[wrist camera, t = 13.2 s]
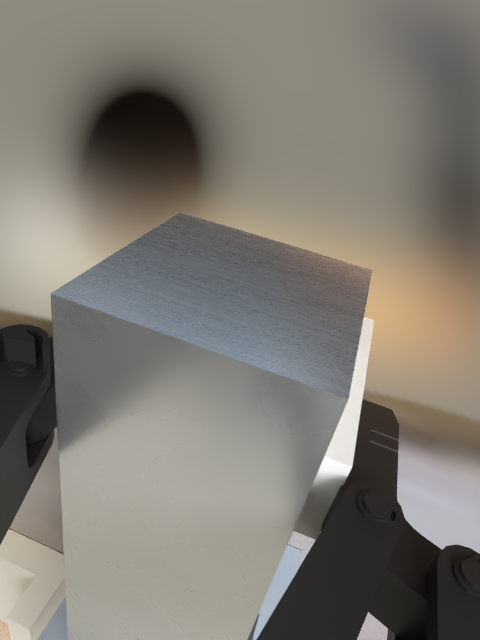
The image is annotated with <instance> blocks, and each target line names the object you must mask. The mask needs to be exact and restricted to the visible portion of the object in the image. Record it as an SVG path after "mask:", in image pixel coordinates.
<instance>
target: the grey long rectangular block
mask: <svg viewBox="0 0 480 640" xmlns="http://www.w3.org/2000/svg"><path fill="white" fill-rule="evenodd" d="M372 271H373V270H371V269H368V268H364V267H361V266H357V265H354V264H351V263H347V262H344V261H341V260H338V259H334V258H331V257H327V256H324V255H321V254H318V253H314V252H311V251H308V250H305V249H301V248H298V247H295V246H291V245H288V244H285V243H281V242H278V241H275V240H271V239H268V238H265V237H261V236H258V235H255V234H251V233H248V232H245V231H242V230H238V229H234V228H232V227H228V226H225V225H222V224H218V223H215V222H212V221H208V220H205V219H202V218H198V217H195V216H192V215H188V214H185V213H182V212H179V213H177V214H176V215H175V216H173V217H171V218H170V219H168V220H166V221H165V222H163V223H162V224H160V225H158V226H157V227H155V228H154V229H152V230H151V231H149V232H147V233H146V234H144V235H143V236H141V237H139V238H138V239H137V240H135V241H133V242H132V243H130V244H128V245H127V246H125V247H124V248H122V249H121V250H119V251H117V252H116V253H114V254H113V255H111V256H109V257H108V258H106V259H105V260H103V261H102V262H100V263H98V264H97V265H95V266H94V267H92V268H90V269H89V270H87V271H86V272H84V273H82V274H81V275H79V276H78V277H76V278H75V279H73V280H71V281H70V282H68V283H67V284H65V285H63V286H62V287H60V288H59V289H57V290H56V291H54V292H52V293H51V307H52V327H53V348H54V368H55V388H56V408H57V428H58V449H59V469H60V489H61V509H62V529H63V550H64V570H65V590H66V610H67V630H68V640H247V639H248V637H249V635H250V632H251V630H252V628H253V625H254V623H255V620H256V618H257V616H258V613H259V611H260V609H261V606H262V604H263V601H264V599H265V597H266V594H267V592H268V590H269V587H270V585H271V582H272V580H273V578H274V575H275V573H276V571H277V568H278V566H279V563H280V561H281V559H282V556H283V554H284V551H285V549H286V547H287V544H288V542H289V540H290V537H291V535H292V532H293V530H294V528H295V525H296V523H297V521H298V518H299V516H300V513H301V511H302V509H303V506H304V504H305V502H306V499H307V497H308V494H309V492H310V490H311V487H312V485H313V483H314V480H315V478H316V475H317V473H318V471H319V468H320V466H321V464H322V461H323V459H324V456H325V454H326V452H327V449H328V447H329V445H330V442H331V440H332V437H333V435H334V433H335V430H336V428H337V426H338V423H339V421H340V418H341V416H342V414H343V411H344V409H345V407H346V404H347V402H348V399H349V394H350V389H351V383H352V378H353V373H354V367H355V362H356V356H357V351H358V346H359V340H360V335H361V330H362V324H363V319H364V313H365V308H366V303H367V297H368V292H369V287H370V281H371V276H372Z"/></svg>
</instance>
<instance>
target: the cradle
mask: <svg viewBox="0 0 480 640" xmlns="http://www.w3.org/2000/svg"><path fill="white" fill-rule="evenodd" d="M65 596H66V590H65V570H64V555H63V554H61V553H59V552H57V551H55V550H53V549H51V548H49V547H46V546H44V545H42V544H40V543H38V542H36V541H34V540H32V539H29V538H27V537H25V536H23V535H21V534H19V533H17V532H15V531H13V530H10V529H8V531H7V533H6V535H5V537H4V539H3V541H2V543H1V545H0V620H1V621H3V622H5V623H7V625H8V630H9V635H10V640H37V639H38V638H39V636H40V634H41V633H42V631H43V630H44V628H45V627H46V625H47V624H48V622H49V621H50V619H51V618H52V616H53V614H54V613H55V611H56V610H57V608H58V607H59V605H60V604H61V602H62V601H63V599H64V598H65Z"/></svg>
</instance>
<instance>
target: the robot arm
mask: <svg viewBox="0 0 480 640" xmlns="http://www.w3.org/2000/svg"><path fill="white" fill-rule="evenodd" d="M373 323H374V320H371V319H369V318H365V317H364V319H363V324H362V330H361V335H360V340H359V346H358V351H357V356H356V362H355V367H354V373H353V378H352V383H351V389H350V394H349V399H348V402H347V404H346V407H345V409H344V411H343V414H342V416H341V418H340V421H339V423H338V426H337V428H336V430H335V433H334V435H333V437H332V440H331V442H330V445H329V447H328V449H327V452H326V454H325V456H324V459H323V461H322V464H321V466H320V468H319V471H318V473H317V475H316V478H315V480H314V483H313V485H312V487H311V490H310V492H309V494H308V497H307V499H306V502H305V504H304V506H303V509H302V511H301V513H300V516H299V518H298V521H297V523H296V525H295V528H294V531H296V532H299V533H301V534H303V535H306V536H308V537H311V538H313V539H315V540H316V541H315V543H314V544H313V546H312V548H311V549H310V551H309V553H308V554H307V556H306V558H305V559H304V561H303V563H302V564H301V566H300V568H299V569H298V571H297V573H296V574H295V576H294V578H293V579H292V581H291V583H290V584H289V586H288V588H287V589H286V591H285V593H284V594H283V596H282V598H281V599H280V601H279V603H278V604H277V606H276V608H275V609H274V611H273V613H272V614H271V616H270V618H269V619H268V621H267V623H266V624H265V626H264V628H263V629H262V631H261V633H260V634H259V636H258V638H257V639H256V640H357V637H358V635H359V633H360V630H361V628H362V625H363V623H364V620H365V618H366V616H367V613H368V612H369V613H370V614H372V615H373V616H374V617H375V618H376V619H378V620H379V621H380V622H381V623H382V624H383V625H385V626H386V627H387V628H388V637H387V640H480V554H479V553H477V552H475V551H474V550H472V549H470V548H468V547H464V546H460V545H451V546H446V547H445V548H444V549H443V550H441V549H440V548H439V547H437V546H436V545H434V544H433V543H432V542H430V541H429V540H427V539H426V538H425V537H423V536H422V535H421V534H419V533H418V532H417V531H416V530H415V529H413V528H412V526H411V525H410V524H409V523H408V522H407V521H406V519H405V518H404V515H403V512H402V509H401V506H400V505H399V503H398V502H397V471H398V453H397V452H398V439H399V424H398V421H397V419H396V417H395V415H394V413H393V411H392V410H391V409H388V408H386V407H383V406H380V405H377V404H374V403H372V402H369V401H366V400H363V399H362V398H363V391H364V384H365V378H366V371H367V364H368V357H369V350H370V343H371V337H372V330H373ZM56 426H57V408H56V388H55V368H54V348H53V336H52V337H51V338H50V339H49V337H48V334H47V333H46V332H45V331H44V330H42V329H41V328H39V327H35V326H32V325H13V326H8V327H5V328H2V329H0V545H1V543H2V541H3V539H4V537H5V535H6V533H7V531H8V529H9V527H10V525H11V523H12V521H13V519H14V517H15V516H16V514H17V512H18V510H19V508H20V506H21V504H22V502H23V500H24V498H25V496H26V494H27V492H28V490H29V488H30V486H31V484H32V482H33V480H34V478H35V476H36V474H37V472H38V470H39V469H40V467H41V465H42V463H43V461H44V459H45V457H46V455H47V453H48V451H49V449H50V447H51V445H52V443H53V439H54V428H55V427H56ZM320 531H321V533H320ZM319 533H320V534H319ZM318 535H319V536H318ZM317 537H318V538H317Z"/></svg>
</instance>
